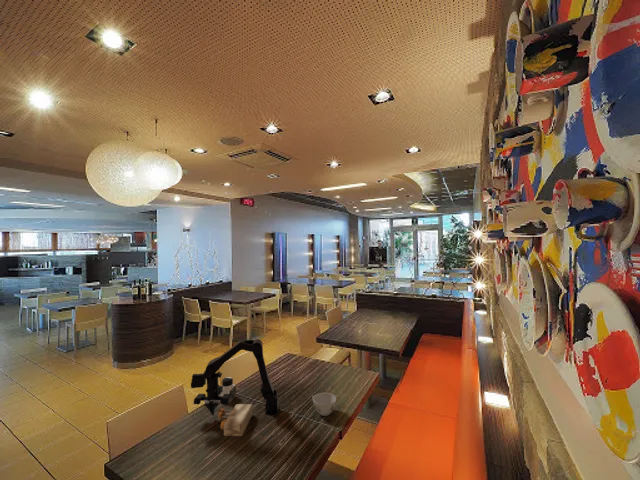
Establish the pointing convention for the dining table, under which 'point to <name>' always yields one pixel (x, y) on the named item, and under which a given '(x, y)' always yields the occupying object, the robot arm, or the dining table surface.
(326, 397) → the teacup
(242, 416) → the beech block
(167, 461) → the dining table surface
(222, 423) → the knob outer
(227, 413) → the knob inner
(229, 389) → the medicine bottle
